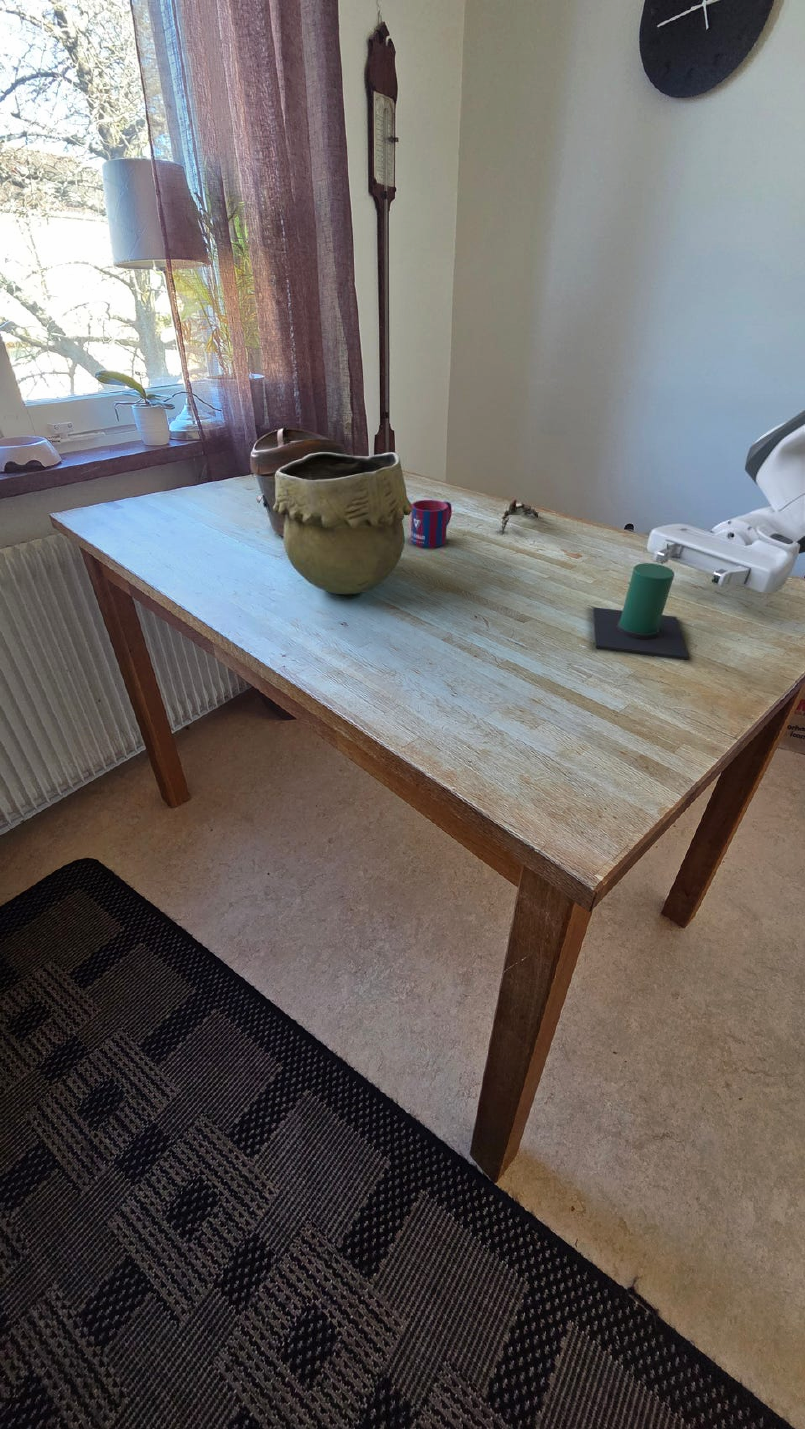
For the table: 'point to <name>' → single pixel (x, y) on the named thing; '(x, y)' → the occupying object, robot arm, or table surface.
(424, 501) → the mug
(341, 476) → the clay pot
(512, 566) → the table surface
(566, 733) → the table surface
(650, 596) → the thermos cap
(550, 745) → the table surface
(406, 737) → the table surface
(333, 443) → the brown planter
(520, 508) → the figurine
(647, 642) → the mat
